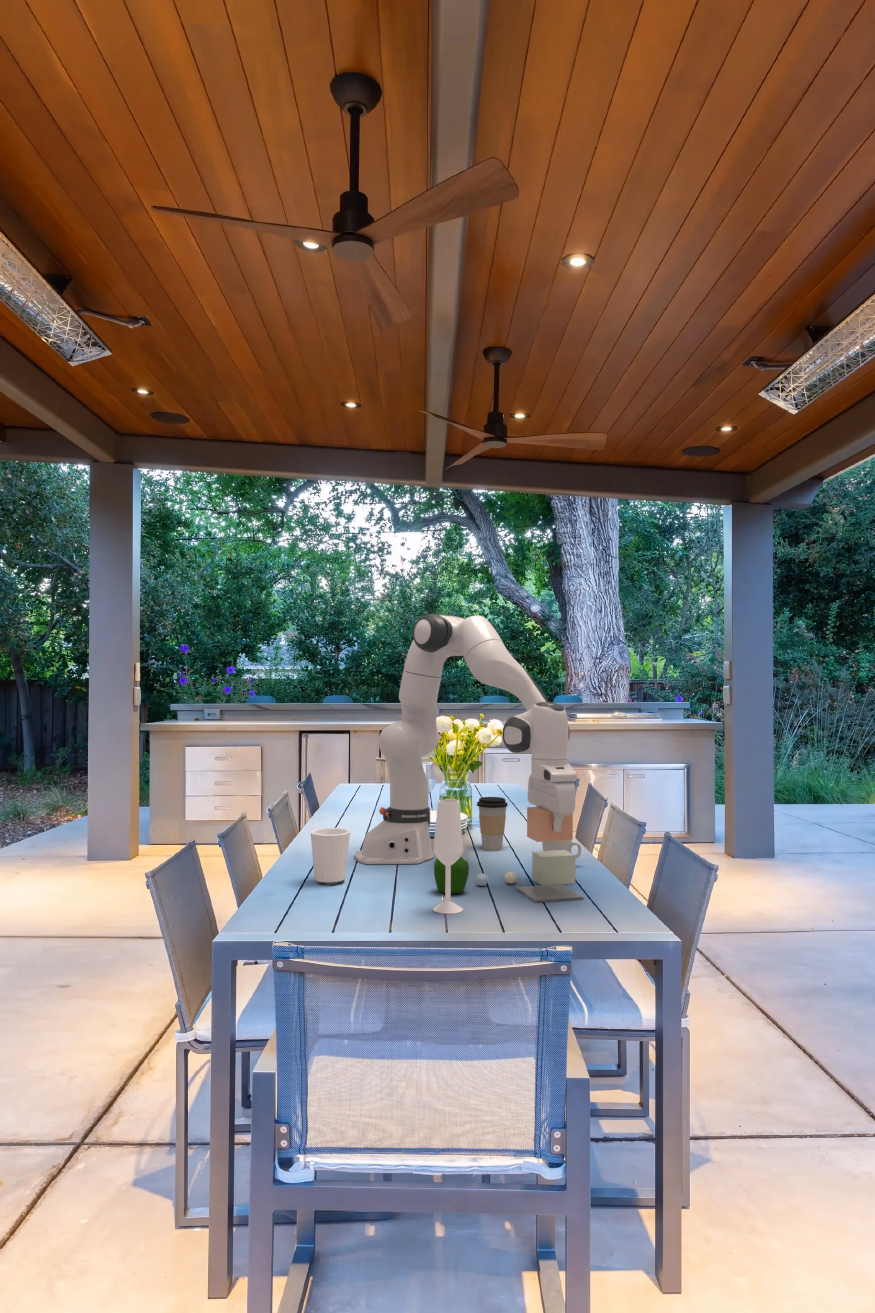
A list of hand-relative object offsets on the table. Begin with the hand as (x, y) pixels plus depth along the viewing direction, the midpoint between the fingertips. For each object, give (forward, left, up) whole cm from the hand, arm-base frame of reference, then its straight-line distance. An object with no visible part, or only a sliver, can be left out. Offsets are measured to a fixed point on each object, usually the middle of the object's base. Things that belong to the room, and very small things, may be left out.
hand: (549, 828), depth 195 cm
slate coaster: (0, 0, -16) cm, 16 cm away
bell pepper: (-22, +8, -16) cm, 28 cm away
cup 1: (-49, +24, -16) cm, 57 cm away
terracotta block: (0, 0, -2) cm, 2 cm away
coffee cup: (+4, +52, -16) cm, 54 cm away
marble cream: (-5, +11, -15) cm, 19 cm away
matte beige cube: (+6, +11, -16) cm, 20 cm away
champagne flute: (-27, -6, -16) cm, 32 cm away
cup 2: (+15, +26, -16) cm, 34 cm away
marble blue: (-14, +12, -13) cm, 22 cm away
